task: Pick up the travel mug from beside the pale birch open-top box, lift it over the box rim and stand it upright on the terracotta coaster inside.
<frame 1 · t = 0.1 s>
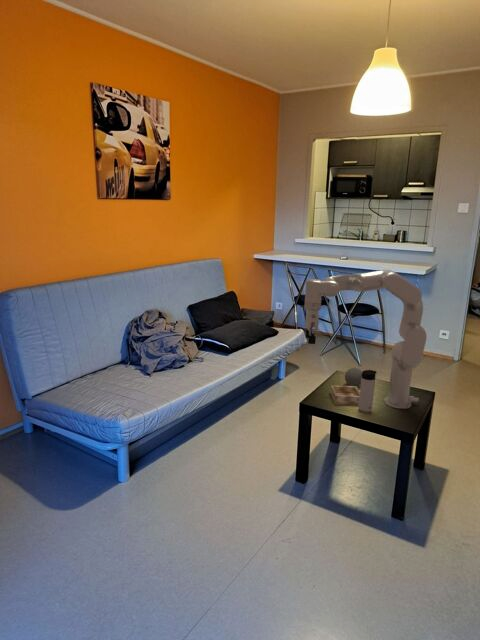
hand: (310, 340, 214), 31 cm above the table, tool pointing down, fingers open, 9 cm apart
open box: (345, 399, 225), on the table
travel mug: (365, 410, 213), on the table
decorative ball: (353, 386, 242), on the table
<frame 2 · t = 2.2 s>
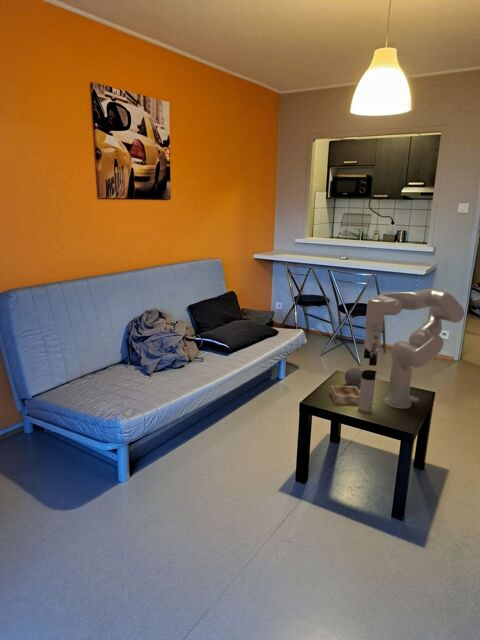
hand: (369, 361, 207), 25 cm above the table, tool pointing down, fingers open, 9 cm apart
nothing on the table moved.
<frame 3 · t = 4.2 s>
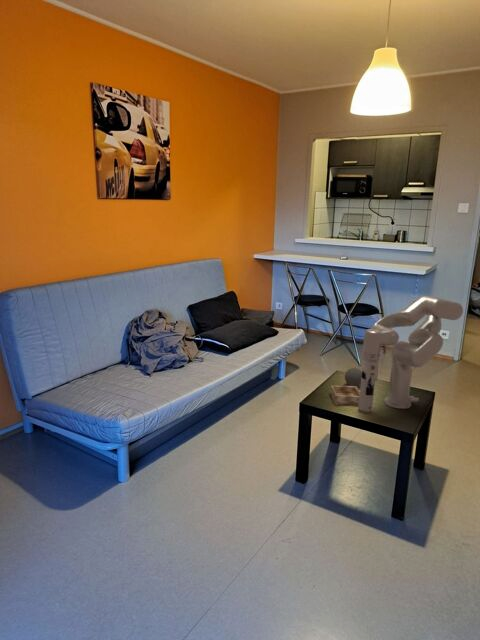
hand: (367, 391, 211), 10 cm above the table, tool pointing down, fingers closed on travel mug, 6 cm apart
travel mug: (365, 410, 213), on the table, touching gripper
everything else where it was.
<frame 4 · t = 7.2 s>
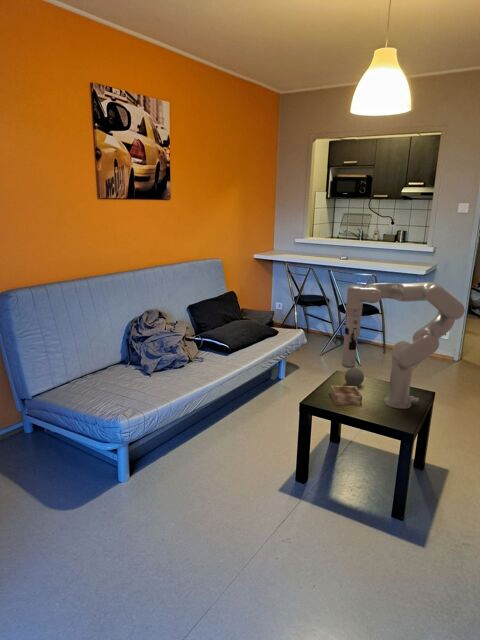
hand: (350, 347, 217), 28 cm above the table, tool pointing down, fingers closed on travel mug, 6 cm apart
travel mug: (348, 366, 220), point 18 cm above the table, touching gripper
everything else where it was.
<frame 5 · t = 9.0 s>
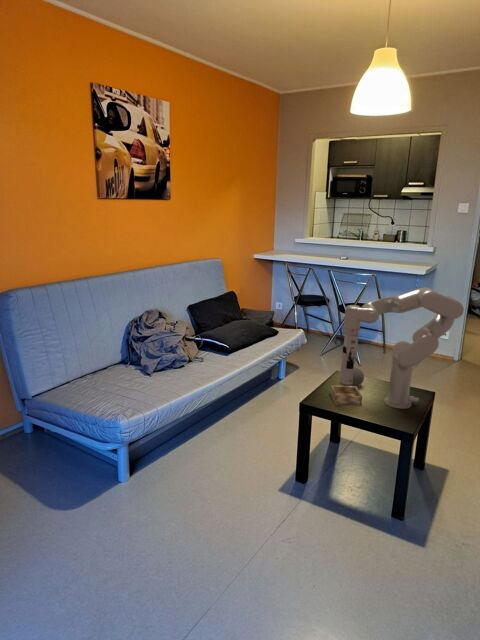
hand: (348, 365, 220), 18 cm above the table, tool pointing down, fingers closed on travel mug, 6 cm apart
travel mug: (346, 384, 223), point 8 cm above the table, touching gripper
everything else where it was.
when the fingers open (12 cm above the table, at t = 10.6 s): travel mug drops 1 cm, resting on open box.
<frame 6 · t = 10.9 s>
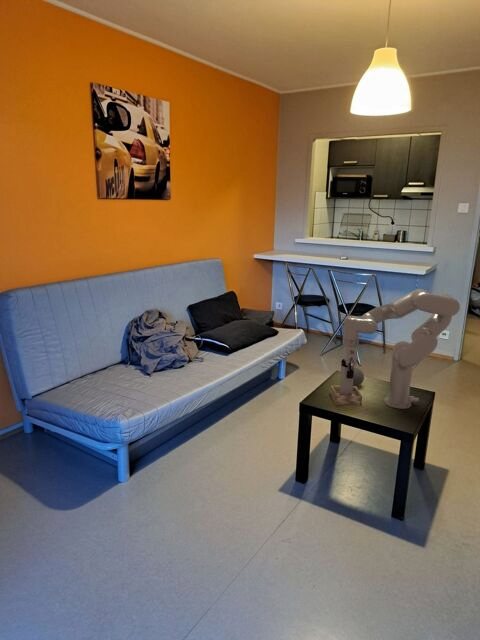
hand: (347, 374, 221), 13 cm above the table, tool pointing down, fingers open, 9 cm apart
travel mug: (345, 397, 224), point 1 cm above the table, touching open box
everything else where it was.
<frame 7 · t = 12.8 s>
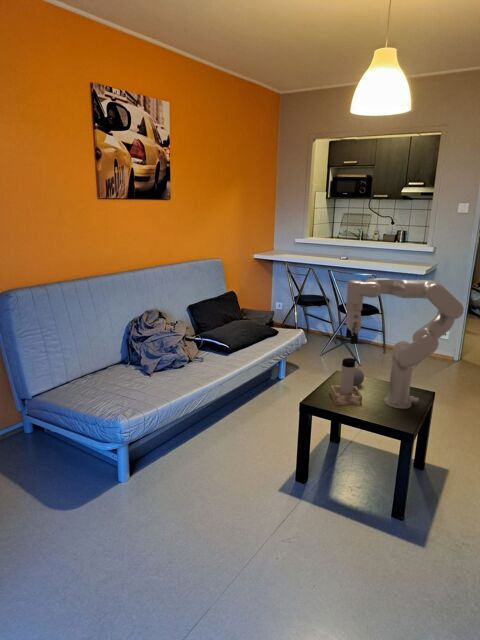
hand: (351, 340, 217), 31 cm above the table, tool pointing down, fingers open, 9 cm apart
nothing on the table moved.
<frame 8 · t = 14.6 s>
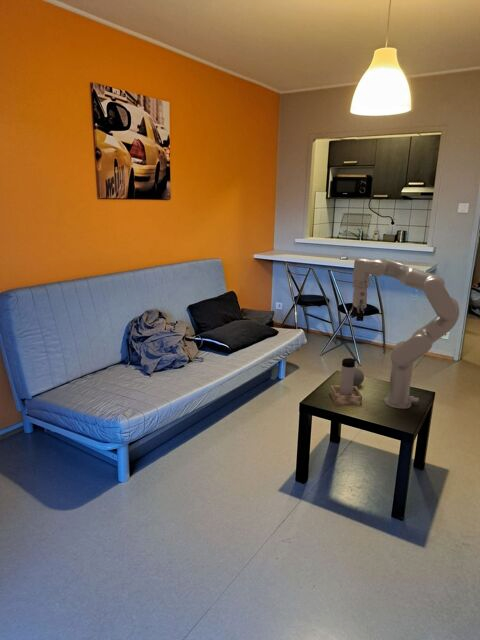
hand: (357, 318, 221), 40 cm above the table, tool pointing down, fingers open, 9 cm apart
nothing on the table moved.
at the end: travel mug 0.1 cm off-centre on the open box, point 1.2 cm above the open box's base; travel mug tilted 0°; the gripper is holding nothing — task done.
